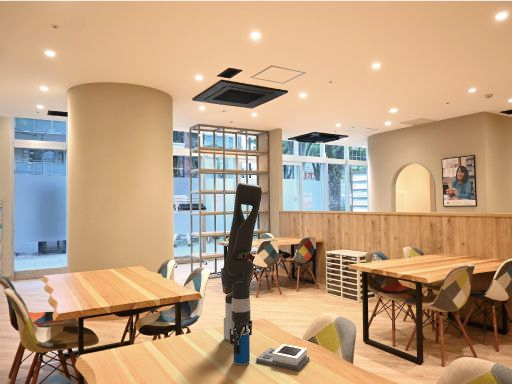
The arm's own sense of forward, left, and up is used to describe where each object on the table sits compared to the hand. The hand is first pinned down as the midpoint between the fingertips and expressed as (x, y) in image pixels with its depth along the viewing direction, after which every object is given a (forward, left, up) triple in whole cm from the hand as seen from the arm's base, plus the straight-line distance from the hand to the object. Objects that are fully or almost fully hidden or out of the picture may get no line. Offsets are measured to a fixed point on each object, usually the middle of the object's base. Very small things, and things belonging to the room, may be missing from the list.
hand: (241, 350), depth 149 cm
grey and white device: (+14, +9, -5) cm, 17 cm away
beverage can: (0, 0, -5) cm, 5 cm away
